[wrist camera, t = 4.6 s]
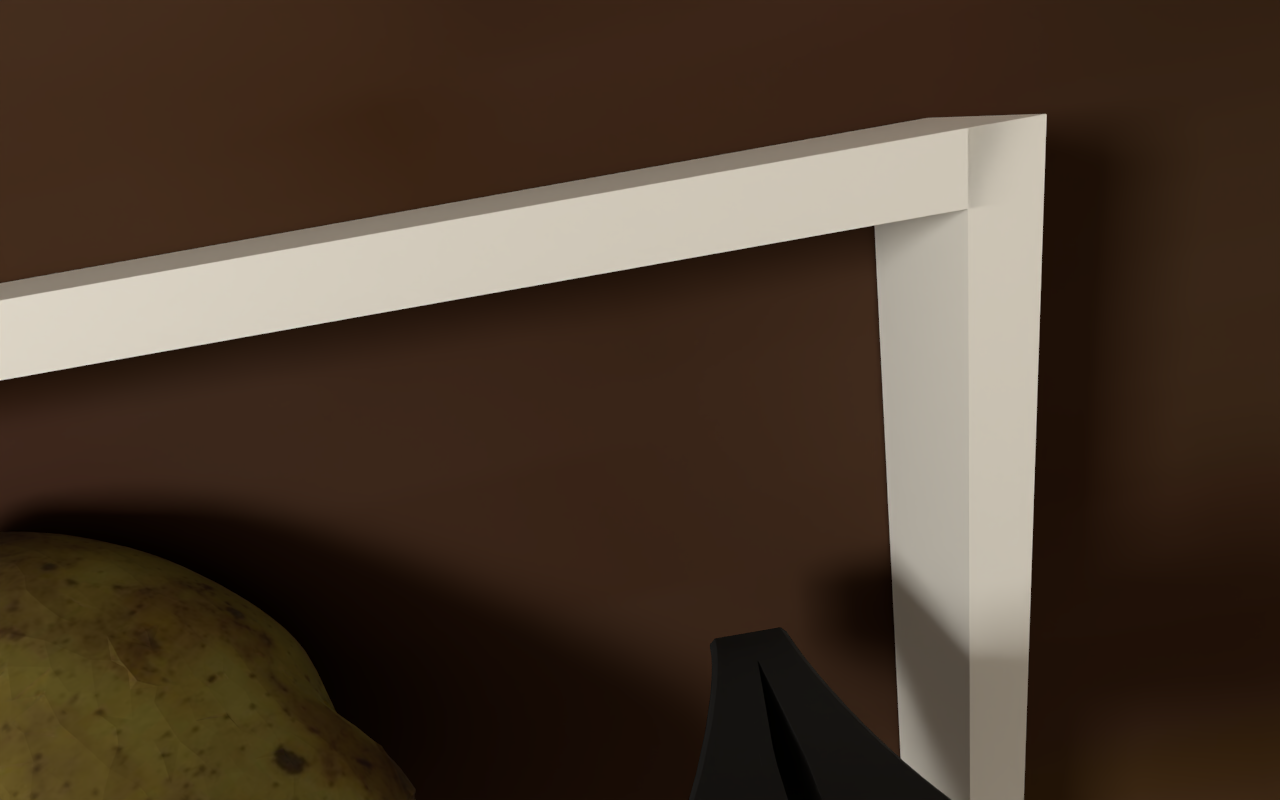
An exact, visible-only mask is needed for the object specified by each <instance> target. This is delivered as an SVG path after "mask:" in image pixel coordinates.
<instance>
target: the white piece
mask: <svg viewBox="0 0 1280 800" xmlns="http://www.w3.org/2000/svg"><path fill="white" fill-rule="evenodd" d="M1046 119H1047V114H1028V115H998V116H969V117H939V118H924V119H919V120H913V121H907V122H902V123H896V124H891V125H885V126H879V127H874V128H868V129H863V130H857V131H851V132H846V133H840V134H835V135H829V136H823V137H818V138H812V139H807V140H801V141H795V142H790V143H784V144H779V145H773V146H767V147H762V148H756V149H751V150H745V151H739V152H734V153H728V154H723V155H717V156H711V157H706V158H700V159H695V160H689V161H683V162H678V163H672V164H667V165H661V166H655V167H650V168H644V169H639V170H633V171H627V172H622V173H616V174H610V175H605V176H599V177H594V178H588V179H582V180H577V181H571V182H566V183H560V184H554V185H549V186H543V187H538V188H532V189H526V190H521V191H515V192H510V193H504V194H498V195H493V196H487V197H482V198H476V199H470V200H465V201H459V202H454V203H448V204H442V205H437V206H431V207H426V208H420V209H414V210H409V211H403V212H398V213H392V214H386V215H381V216H375V217H370V218H364V219H358V220H353V221H347V222H342V223H336V224H330V225H325V226H319V227H314V228H308V229H302V230H297V231H291V232H286V233H280V234H274V235H269V236H263V237H258V238H252V239H246V240H241V241H235V242H230V243H224V244H218V245H213V246H207V247H202V248H196V249H190V250H185V251H179V252H173V253H168V254H162V255H157V256H151V257H145V258H140V259H134V260H129V261H123V262H117V263H112V264H106V265H101V266H95V267H89V268H84V269H78V270H73V271H67V272H61V273H56V274H50V275H45V276H39V277H33V278H28V279H22V280H17V281H11V282H5V283H0V380H6V379H11V378H17V377H22V376H28V375H34V374H39V373H45V372H51V371H56V370H62V369H68V368H73V367H79V366H84V365H90V364H96V363H101V362H107V361H113V360H118V359H124V358H130V357H135V356H141V355H146V354H152V353H158V352H163V351H169V350H175V349H180V348H186V347H192V346H197V345H203V344H208V343H214V342H220V341H225V340H231V339H237V338H242V337H248V336H254V335H259V334H265V333H270V332H276V331H282V330H287V329H293V328H299V327H304V326H310V325H316V324H321V323H327V322H332V321H338V320H344V319H349V318H355V317H361V316H366V315H372V314H378V313H383V312H389V311H394V310H400V309H406V308H411V307H417V306H423V305H428V304H434V303H440V302H445V301H451V300H456V299H462V298H468V297H473V296H479V295H485V294H490V293H496V292H502V291H507V290H513V289H519V288H524V287H530V286H535V285H541V284H547V283H552V282H558V281H564V280H569V279H575V278H581V277H586V276H592V275H597V274H603V273H609V272H614V271H620V270H626V269H631V268H637V267H643V266H648V265H654V264H659V263H665V262H671V261H676V260H682V259H688V258H693V257H699V256H705V255H710V254H716V253H721V252H727V251H733V250H738V249H744V248H750V247H755V246H761V245H767V244H772V243H778V242H783V241H789V240H795V239H800V238H806V237H812V236H817V235H823V234H829V233H834V232H840V231H845V230H851V229H857V228H862V227H868V226H875V246H876V266H877V287H878V307H879V327H880V348H881V368H882V388H883V409H884V429H885V449H886V470H887V490H888V510H889V531H890V551H891V572H892V592H893V612H894V633H895V653H896V673H897V694H898V714H899V734H900V755H901V759H902V760H903V761H904V762H905V763H906V764H908V765H909V766H910V767H911V768H912V769H914V770H915V771H916V772H917V773H918V774H920V775H921V776H922V777H923V778H924V779H926V780H927V781H928V782H929V783H931V784H932V785H933V786H935V787H936V788H937V789H938V790H940V791H941V792H942V793H943V794H945V795H946V796H947V797H949V798H950V799H951V800H1024V781H1025V751H1026V721H1027V691H1028V661H1029V631H1030V601H1031V570H1032V540H1033V510H1034V480H1035V450H1036V420H1037V390H1038V360H1039V330H1040V299H1041V269H1042V239H1043V209H1044V179H1045V149H1046Z"/></svg>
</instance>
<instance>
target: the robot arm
mask: <svg viewBox="0 0 1280 800" xmlns="http://www.w3.org/2000/svg"><path fill="white" fill-rule="evenodd" d="M710 649H711V655H712V682H711V695H710V703H709V710H708V717H707V724H706V730H705V736H704V740H703V745H702V749H701V754H700V758H699V763H698V768H697V772H696V776H695V779H694V783H693V787H692V790H691V794H690V797H689V800H951V799H950V798H949V797H947V796H946V795H945V794H943V793H942V792H941V791H940V790H938V789H937V788H936V787H935V786H933V785H932V784H931V783H929V782H928V781H927V780H926V779H924V778H923V777H922V776H921V775H920V774H918V773H917V772H916V771H915V770H914V769H912V768H911V767H910V766H909V765H908V764H906V763H905V762H904V761H903V760H902V759H901V758H900V757H898V756H897V755H896V754H895V753H894V752H893V751H892V750H891V749H890V748H889V747H887V746H886V745H885V744H884V743H883V742H882V741H881V740H880V739H879V738H878V737H877V736H876V735H875V734H874V733H873V732H872V731H871V730H870V729H869V728H868V727H867V726H865V725H864V724H863V723H862V722H861V720H860V719H859V718H858V717H857V716H856V715H855V714H854V713H853V712H852V711H851V710H850V709H849V708H848V707H847V706H846V705H845V704H844V703H843V701H842V700H841V699H840V698H839V697H838V696H837V695H836V694H835V693H834V692H833V691H832V689H831V688H830V687H829V686H828V685H827V684H826V683H825V682H824V680H823V679H822V678H821V677H820V676H819V674H818V673H817V672H816V671H815V670H814V668H813V667H812V666H811V665H810V663H809V662H808V661H807V660H806V658H805V657H804V656H803V654H802V653H801V652H800V650H799V649H798V648H797V646H796V645H795V644H794V642H793V641H792V639H791V638H790V636H789V635H788V633H787V632H786V631H785V630H783V629H782V628H774V629H768V630H762V631H756V632H751V633H745V634H739V635H733V636H728V637H722V638H716V639H714V641H713V642H712V643H711V644H710Z"/></svg>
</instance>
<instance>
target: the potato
mask: <svg viewBox="0 0 1280 800" xmlns="http://www.w3.org/2000/svg"><path fill="white" fill-rule="evenodd" d="M415 792H416V789H415V788H414V786H413V785H412V783H411V782H410V780H409V779H408V777H407V776H406V775H405V774H404V772H403V771H402V770H401V768H400V767H399V766H398V765H397V764H396V763H395V762H394V761H393V760H392V759H391V758H390V757H389V756H388V754H387V753H386V752H385V750H384V749H383V747H382V745H380V744H378V743H377V742H375V741H373V740H372V739H371V738H370V737H368V736H367V735H366V734H365V733H364V732H362V731H361V730H360V729H359V728H357V727H356V726H355V725H353V724H352V723H350V722H349V721H347V720H346V719H345V718H343V717H342V716H340V715H339V714H338V713H336V711H335V709H334V706H333V704H332V702H331V700H330V698H329V696H328V694H327V691H326V689H325V687H324V685H323V683H322V681H321V679H320V677H319V674H318V672H317V670H316V669H315V667H314V665H313V663H312V662H311V660H310V658H309V657H308V655H307V653H306V651H305V650H304V649H303V647H302V646H301V645H300V644H299V643H298V641H297V640H296V639H295V638H294V637H293V636H292V635H291V634H290V633H289V632H288V631H287V630H286V629H285V628H284V627H283V626H281V625H280V624H279V623H278V622H276V621H275V620H274V619H273V618H271V617H270V616H269V615H267V614H266V613H265V612H263V611H262V610H261V609H259V608H258V607H256V606H255V605H253V604H252V603H250V602H249V601H247V600H245V599H244V598H242V597H240V596H239V595H237V594H235V593H233V592H232V591H230V590H228V589H227V588H225V587H223V586H221V585H220V584H218V583H216V582H214V581H212V580H210V579H208V578H206V577H204V576H202V575H200V574H198V573H196V572H194V571H192V570H190V569H187V568H185V567H183V566H181V565H178V564H176V563H174V562H171V561H169V560H166V559H163V558H161V557H158V556H155V555H152V554H150V553H146V552H143V551H139V550H136V549H133V548H129V547H125V546H121V545H117V544H112V543H108V542H103V541H99V540H94V539H88V538H82V537H76V536H70V535H64V534H52V533H39V532H0V800H415V797H414V796H415Z"/></svg>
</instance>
